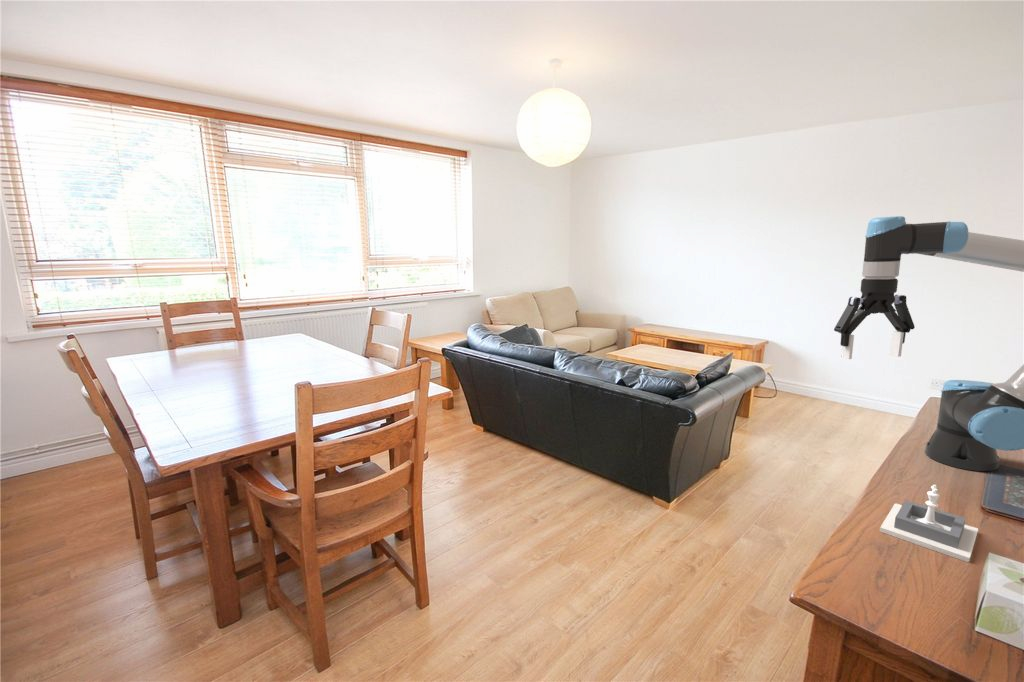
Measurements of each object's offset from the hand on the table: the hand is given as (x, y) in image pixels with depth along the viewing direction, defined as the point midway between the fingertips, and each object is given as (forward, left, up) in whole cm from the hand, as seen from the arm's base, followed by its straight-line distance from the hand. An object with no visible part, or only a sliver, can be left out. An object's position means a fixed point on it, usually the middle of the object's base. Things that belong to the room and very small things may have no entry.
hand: (870, 356), depth 124 cm
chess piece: (+9, +31, -31) cm, 44 cm away
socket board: (+9, +31, -32) cm, 45 cm away
